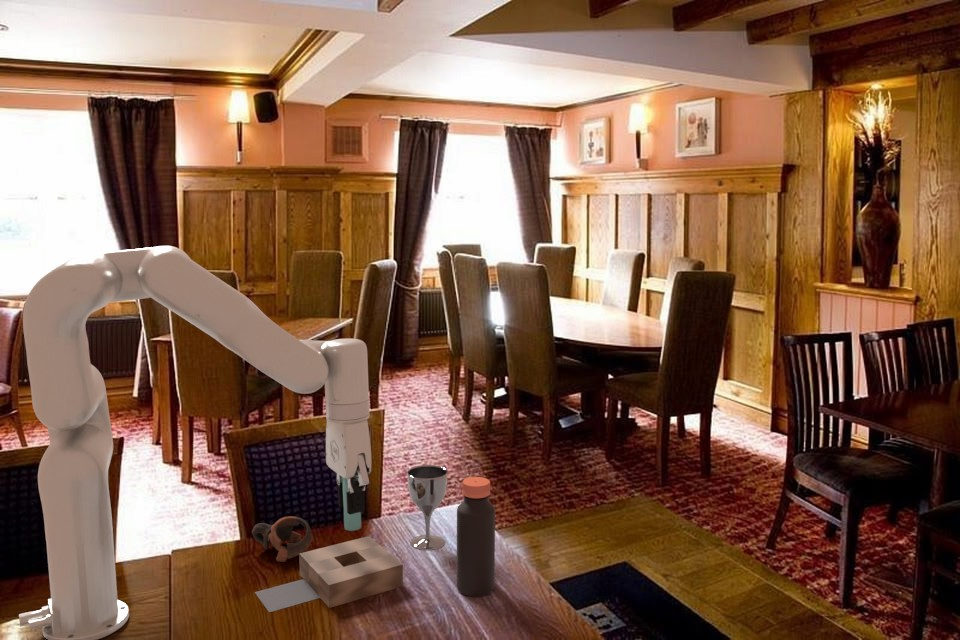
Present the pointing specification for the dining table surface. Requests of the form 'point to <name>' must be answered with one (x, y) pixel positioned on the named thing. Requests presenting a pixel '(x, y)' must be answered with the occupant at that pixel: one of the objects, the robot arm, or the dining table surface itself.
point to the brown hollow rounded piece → (283, 537)
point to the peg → (350, 520)
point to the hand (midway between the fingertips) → (351, 507)
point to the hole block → (350, 571)
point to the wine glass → (427, 500)
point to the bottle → (475, 539)
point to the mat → (286, 595)
